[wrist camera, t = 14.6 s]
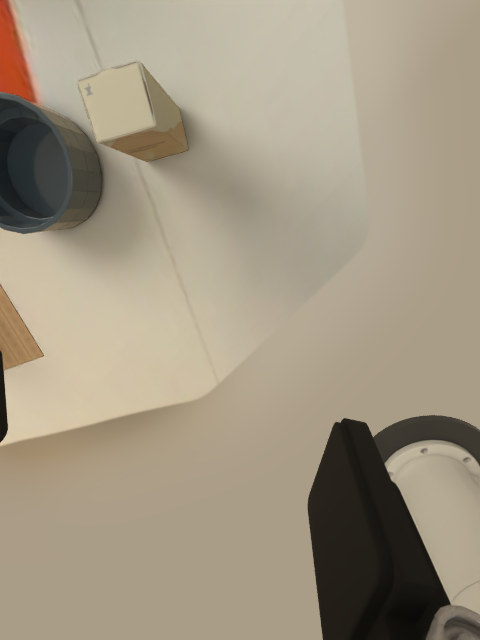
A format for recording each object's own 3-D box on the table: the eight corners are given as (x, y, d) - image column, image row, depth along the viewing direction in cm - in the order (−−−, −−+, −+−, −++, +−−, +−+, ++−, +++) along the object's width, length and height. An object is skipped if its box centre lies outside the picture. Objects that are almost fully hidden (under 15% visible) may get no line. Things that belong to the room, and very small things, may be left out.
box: (145, 162, 35) (92, 144, 24) (132, 117, 34) (70, 78, 23) (191, 150, 34) (157, 125, 24) (180, 103, 33) (138, 56, 22)
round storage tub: (105, 122, 34) (72, 105, 28) (101, 238, 38) (72, 243, 32) (-5, 100, 34) (-60, 80, 29) (3, 218, 38) (-44, 220, 33)
